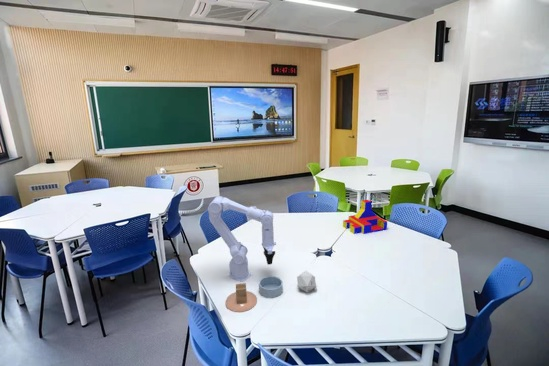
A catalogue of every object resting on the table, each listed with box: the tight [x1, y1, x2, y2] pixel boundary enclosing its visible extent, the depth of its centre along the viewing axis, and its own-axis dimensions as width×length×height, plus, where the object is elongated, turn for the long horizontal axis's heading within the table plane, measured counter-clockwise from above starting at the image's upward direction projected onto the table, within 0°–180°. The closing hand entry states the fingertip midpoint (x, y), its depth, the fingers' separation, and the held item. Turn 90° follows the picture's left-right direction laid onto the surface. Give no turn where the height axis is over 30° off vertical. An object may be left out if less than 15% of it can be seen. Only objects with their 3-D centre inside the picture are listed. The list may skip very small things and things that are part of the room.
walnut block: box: [235, 282, 247, 304], centre depth 127 cm, size 4×4×7 cm
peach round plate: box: [225, 290, 258, 313], centre depth 128 cm, size 14×14×1 cm
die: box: [296, 270, 317, 293], centre depth 135 cm, size 8×9×10 cm
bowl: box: [258, 275, 284, 299], centre depth 135 cm, size 11×11×4 cm
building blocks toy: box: [342, 199, 388, 235], centre depth 202 cm, size 19×25×18 cm
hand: (268, 260), depth 144 cm, fingers open, 7 cm apart
